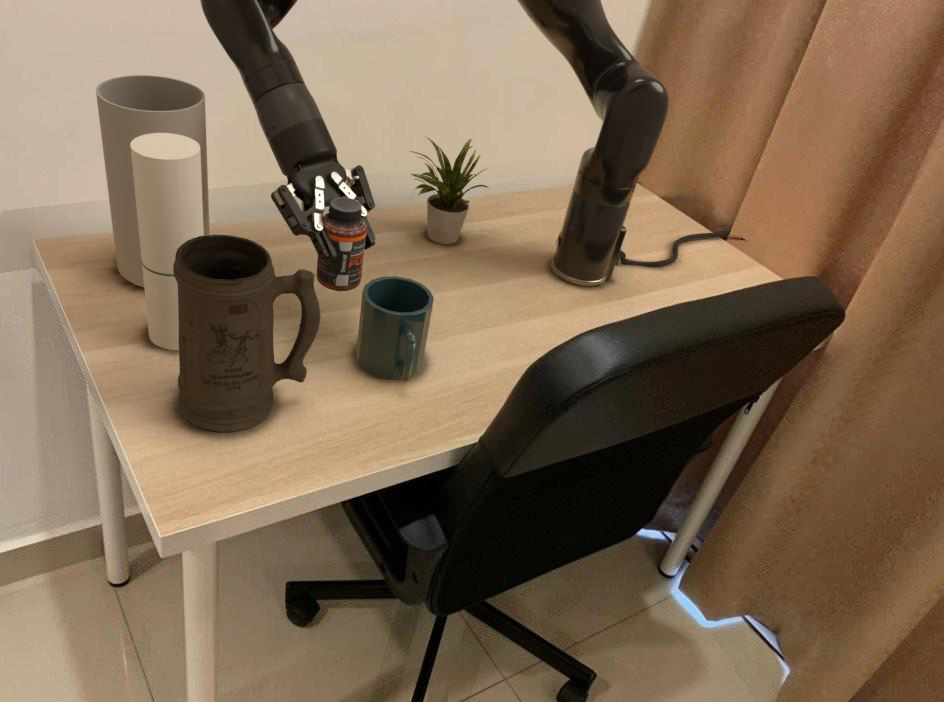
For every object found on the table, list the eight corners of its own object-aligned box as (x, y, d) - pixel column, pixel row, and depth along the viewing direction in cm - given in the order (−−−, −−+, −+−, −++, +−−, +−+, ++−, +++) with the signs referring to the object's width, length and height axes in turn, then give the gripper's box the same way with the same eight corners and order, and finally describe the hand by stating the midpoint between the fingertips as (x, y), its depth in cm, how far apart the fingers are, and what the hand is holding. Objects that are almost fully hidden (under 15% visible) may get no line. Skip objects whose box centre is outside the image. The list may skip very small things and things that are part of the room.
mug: (349, 341, 103) (356, 277, 97) (412, 337, 106) (422, 275, 100) (370, 398, 95) (378, 331, 88) (437, 392, 98) (450, 328, 91)
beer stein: (178, 440, 84) (182, 283, 72) (165, 380, 91) (166, 228, 79) (315, 426, 90) (339, 281, 79) (292, 371, 98) (311, 230, 86)
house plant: (412, 206, 138) (424, 117, 128) (486, 224, 137) (505, 135, 127) (391, 241, 127) (403, 145, 117) (472, 261, 126) (491, 166, 116)
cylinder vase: (194, 242, 116) (186, 74, 101) (223, 284, 109) (219, 109, 94) (107, 253, 110) (84, 76, 95) (131, 299, 103) (111, 114, 87)
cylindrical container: (216, 343, 98) (210, 156, 83) (159, 355, 94) (142, 162, 79) (196, 313, 102) (187, 130, 87) (141, 324, 99) (121, 135, 83)
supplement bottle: (353, 298, 100) (361, 219, 93) (309, 286, 100) (314, 207, 93) (366, 276, 104) (375, 200, 97) (324, 265, 105) (330, 188, 98)
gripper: (262, 126, 89) (323, 260, 91) (353, 108, 98) (407, 230, 100) (234, 152, 95) (292, 278, 97) (323, 133, 104) (375, 248, 106)
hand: (350, 253), depth 98 cm, fingers closed on supplement bottle, 6 cm apart
